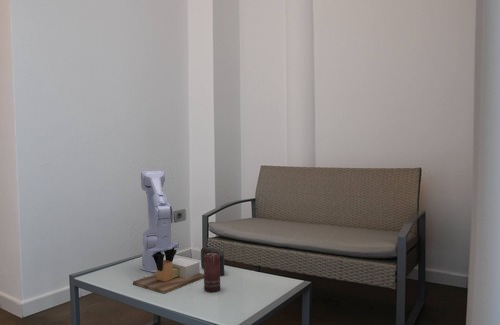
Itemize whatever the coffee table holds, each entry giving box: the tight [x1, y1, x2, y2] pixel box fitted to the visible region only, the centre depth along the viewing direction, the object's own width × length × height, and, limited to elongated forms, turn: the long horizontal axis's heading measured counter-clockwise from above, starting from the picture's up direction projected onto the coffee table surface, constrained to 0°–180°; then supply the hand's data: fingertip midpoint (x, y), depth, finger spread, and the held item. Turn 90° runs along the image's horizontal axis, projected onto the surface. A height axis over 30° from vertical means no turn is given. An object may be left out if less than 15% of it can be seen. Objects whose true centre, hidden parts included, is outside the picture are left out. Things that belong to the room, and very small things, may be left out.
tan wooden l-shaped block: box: [155, 259, 180, 282], centre depth 167 cm, size 5×14×7 cm, turn 144°
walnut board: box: [132, 272, 204, 294], centre depth 165 cm, size 18×23×1 cm
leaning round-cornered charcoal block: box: [200, 246, 225, 276], centre depth 178 cm, size 16×5×9 cm, turn 40°
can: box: [203, 252, 221, 293], centre depth 155 cm, size 6×6×14 cm
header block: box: [172, 257, 201, 279], centre depth 171 cm, size 12×8×5 cm, turn 54°
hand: (164, 269), depth 163 cm, fingers closed on tan wooden l-shaped block, 4 cm apart
